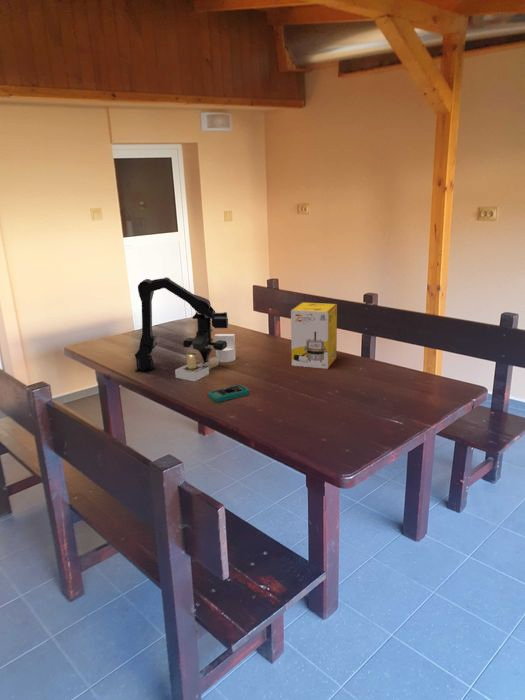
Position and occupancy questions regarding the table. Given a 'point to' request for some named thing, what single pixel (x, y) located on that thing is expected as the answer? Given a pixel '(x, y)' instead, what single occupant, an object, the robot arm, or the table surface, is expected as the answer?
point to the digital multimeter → (228, 393)
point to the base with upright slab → (229, 351)
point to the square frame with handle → (199, 372)
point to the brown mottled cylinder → (191, 361)
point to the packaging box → (314, 335)
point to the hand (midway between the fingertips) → (205, 362)
